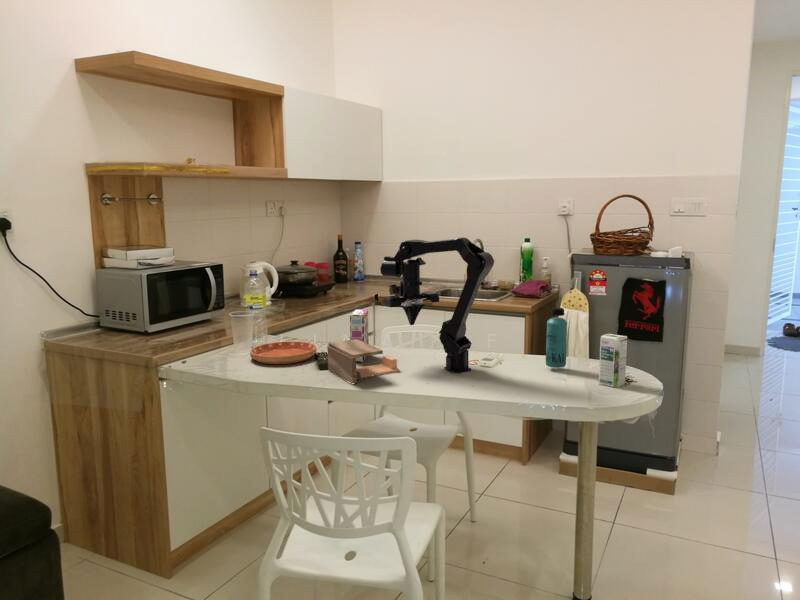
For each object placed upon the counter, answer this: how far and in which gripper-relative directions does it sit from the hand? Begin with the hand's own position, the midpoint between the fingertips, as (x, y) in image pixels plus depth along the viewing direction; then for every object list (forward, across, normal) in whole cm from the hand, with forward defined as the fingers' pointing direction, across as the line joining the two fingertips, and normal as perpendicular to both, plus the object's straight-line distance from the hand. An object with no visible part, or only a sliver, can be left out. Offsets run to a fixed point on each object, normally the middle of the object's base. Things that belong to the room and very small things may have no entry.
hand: (411, 324), depth 208 cm
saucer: (+14, +34, -31) cm, 48 cm away
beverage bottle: (+13, -34, +32) cm, 49 cm away
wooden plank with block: (+14, +16, +2) cm, 21 cm away
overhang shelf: (+13, +22, +2) cm, 26 cm away
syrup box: (+13, -37, +52) cm, 65 cm away
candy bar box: (+13, +12, -15) cm, 23 cm away
